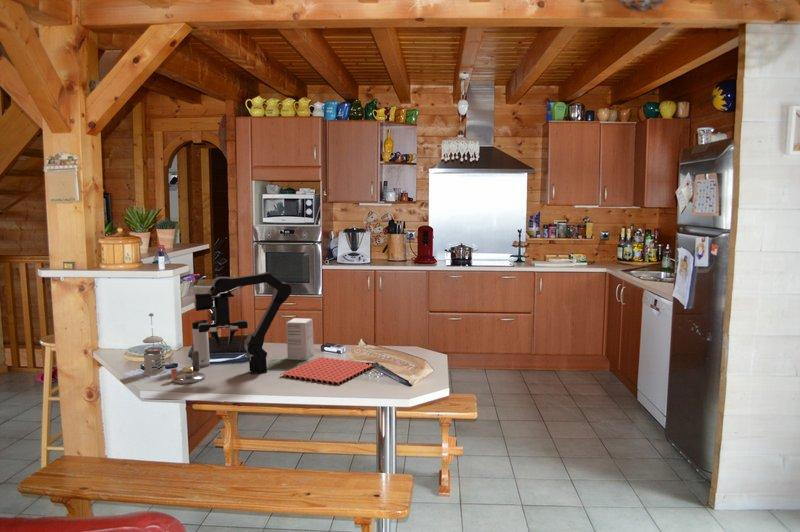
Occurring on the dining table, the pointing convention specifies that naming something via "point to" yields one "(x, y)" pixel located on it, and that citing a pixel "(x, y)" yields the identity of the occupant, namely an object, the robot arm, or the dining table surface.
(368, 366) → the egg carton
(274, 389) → the dining table surface
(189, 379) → the post base
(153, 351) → the french press
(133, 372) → the dining table surface
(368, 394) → the dining table surface
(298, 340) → the supplement box
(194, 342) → the travel mug
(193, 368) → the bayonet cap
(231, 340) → the robot arm
